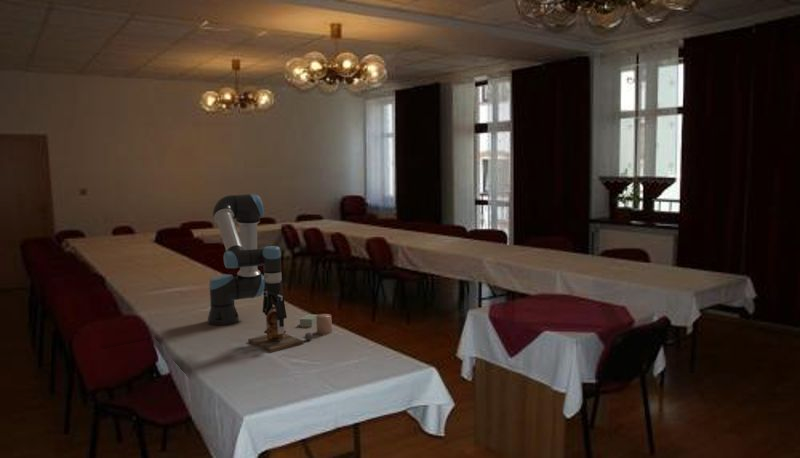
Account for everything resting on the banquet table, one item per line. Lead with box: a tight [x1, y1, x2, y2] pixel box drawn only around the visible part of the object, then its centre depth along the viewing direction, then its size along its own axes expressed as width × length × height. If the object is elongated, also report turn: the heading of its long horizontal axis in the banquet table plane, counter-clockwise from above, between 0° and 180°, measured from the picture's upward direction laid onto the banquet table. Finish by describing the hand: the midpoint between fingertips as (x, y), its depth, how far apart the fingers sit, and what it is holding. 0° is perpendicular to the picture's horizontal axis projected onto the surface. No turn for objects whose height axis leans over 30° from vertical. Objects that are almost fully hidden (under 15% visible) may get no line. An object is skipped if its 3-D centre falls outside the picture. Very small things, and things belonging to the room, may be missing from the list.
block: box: [299, 313, 318, 328], centre depth 291 cm, size 6×9×4 cm, turn 167°
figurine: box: [263, 305, 287, 340], centre depth 260 cm, size 10×8×15 cm
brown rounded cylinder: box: [316, 313, 333, 336], centre depth 276 cm, size 7×7×8 cm
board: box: [247, 333, 304, 353], centre depth 261 cm, size 20×16×2 cm
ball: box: [304, 332, 314, 341], centre depth 264 cm, size 4×4×4 cm
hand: (275, 331), depth 260 cm, fingers closed on figurine, 9 cm apart
